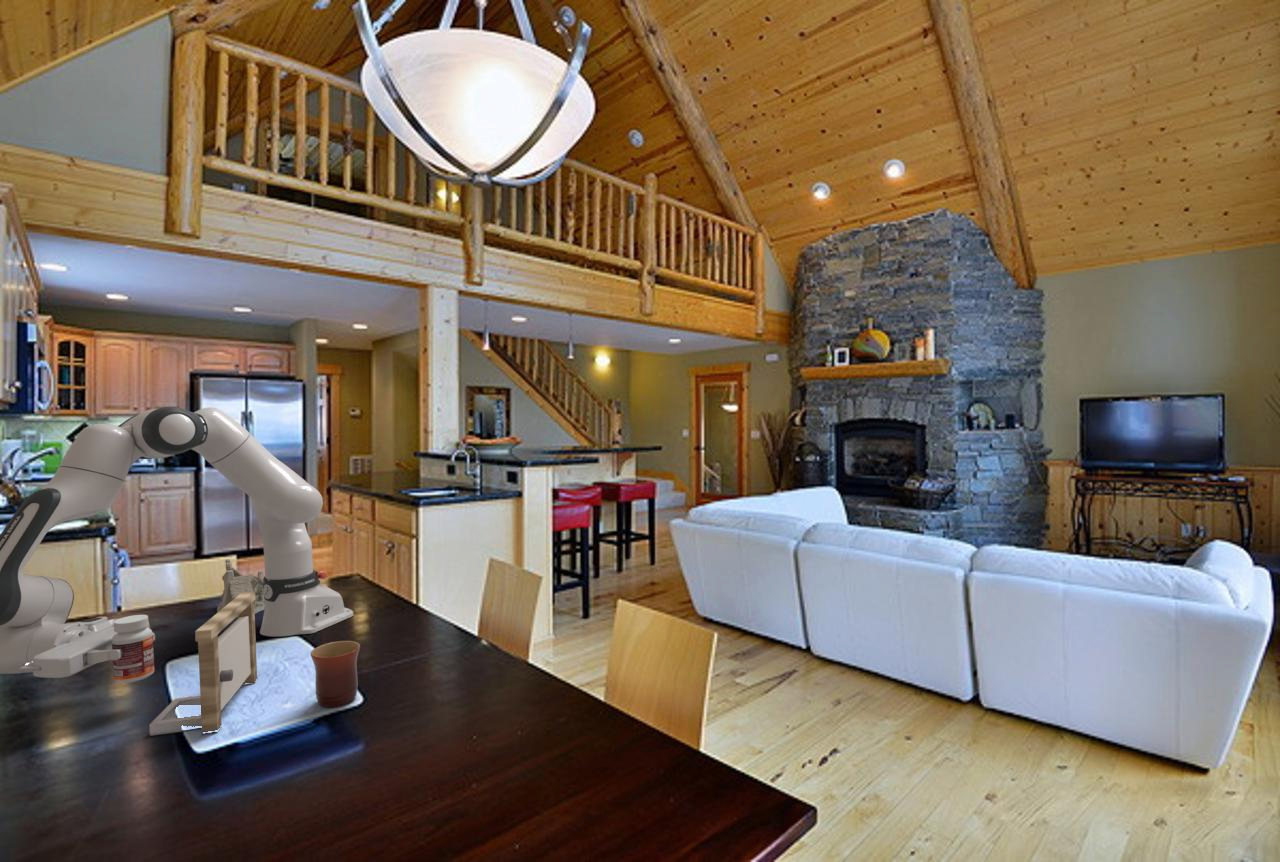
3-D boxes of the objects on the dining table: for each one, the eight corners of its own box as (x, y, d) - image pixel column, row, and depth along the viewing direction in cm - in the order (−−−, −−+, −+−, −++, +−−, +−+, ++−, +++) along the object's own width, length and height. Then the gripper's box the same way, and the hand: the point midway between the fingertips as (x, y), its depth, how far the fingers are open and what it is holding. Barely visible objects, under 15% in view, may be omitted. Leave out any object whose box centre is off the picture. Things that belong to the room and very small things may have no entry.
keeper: (175, 709, 121) (174, 698, 121) (228, 702, 124) (227, 692, 124) (149, 735, 111) (149, 724, 111) (208, 728, 114) (207, 717, 114)
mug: (352, 709, 120) (350, 656, 119) (304, 712, 119) (302, 658, 119) (373, 682, 132) (371, 633, 131) (330, 684, 131) (328, 635, 131)
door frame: (245, 679, 134) (242, 591, 134) (258, 677, 135) (255, 590, 134) (199, 737, 110) (195, 631, 110) (215, 735, 111) (210, 629, 110)
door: (242, 674, 131) (239, 617, 131) (259, 672, 132) (257, 615, 131) (208, 714, 114) (206, 648, 113) (229, 711, 115) (226, 646, 114)
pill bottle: (153, 678, 120) (150, 619, 120) (111, 686, 117) (108, 626, 117) (156, 667, 126) (153, 611, 125) (116, 675, 122) (112, 617, 122)
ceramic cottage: (216, 620, 173) (217, 565, 173) (217, 607, 187) (219, 556, 187) (281, 613, 181) (283, 560, 182) (277, 601, 195) (279, 552, 196)
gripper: (10, 653, 110) (90, 651, 111) (106, 613, 131) (174, 611, 131) (12, 688, 111) (92, 686, 111) (108, 643, 131) (176, 641, 131)
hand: (137, 645), depth 121 cm, fingers closed on pill bottle, 6 cm apart
